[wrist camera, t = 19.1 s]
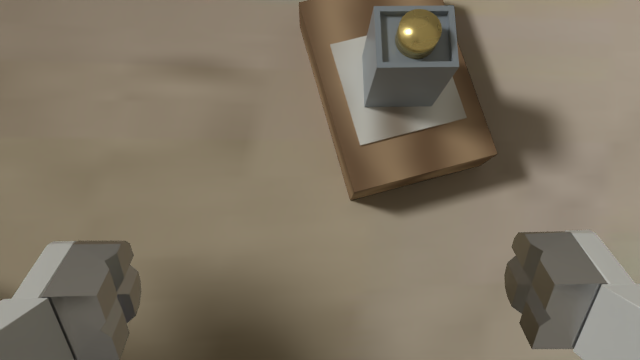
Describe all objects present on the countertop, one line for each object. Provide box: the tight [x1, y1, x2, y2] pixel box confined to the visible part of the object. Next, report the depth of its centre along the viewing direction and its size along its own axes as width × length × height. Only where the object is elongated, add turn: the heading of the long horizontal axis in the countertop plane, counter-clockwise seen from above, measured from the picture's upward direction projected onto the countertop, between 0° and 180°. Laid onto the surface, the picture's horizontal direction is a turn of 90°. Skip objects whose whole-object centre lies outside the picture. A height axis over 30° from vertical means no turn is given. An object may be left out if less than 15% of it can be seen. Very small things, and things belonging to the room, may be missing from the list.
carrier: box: [362, 5, 459, 107], centre depth 37 cm, size 6×4×8 cm
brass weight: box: [395, 9, 442, 59], centre depth 33 cm, size 3×3×2 cm
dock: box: [299, 0, 497, 200], centre depth 43 cm, size 12×17×4 cm
